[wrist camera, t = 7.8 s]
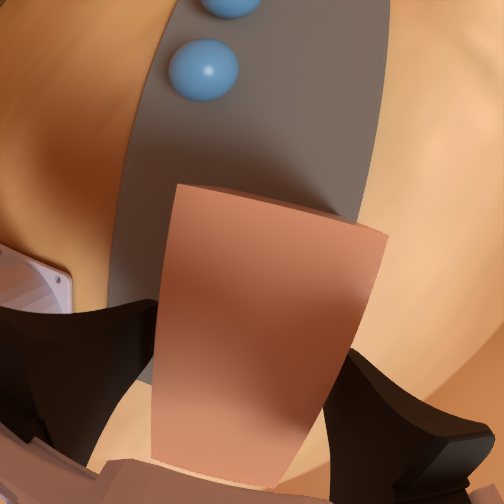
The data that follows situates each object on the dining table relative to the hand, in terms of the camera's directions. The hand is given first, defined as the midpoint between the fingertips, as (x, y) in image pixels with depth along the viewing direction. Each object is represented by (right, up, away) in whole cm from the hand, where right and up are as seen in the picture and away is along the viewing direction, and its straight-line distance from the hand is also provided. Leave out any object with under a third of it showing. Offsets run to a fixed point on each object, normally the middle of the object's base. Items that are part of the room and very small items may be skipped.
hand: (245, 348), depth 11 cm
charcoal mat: (0, +7, +2) cm, 8 cm away
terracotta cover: (0, +1, +3) cm, 3 cm away
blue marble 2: (-2, +12, +1) cm, 12 cm away
